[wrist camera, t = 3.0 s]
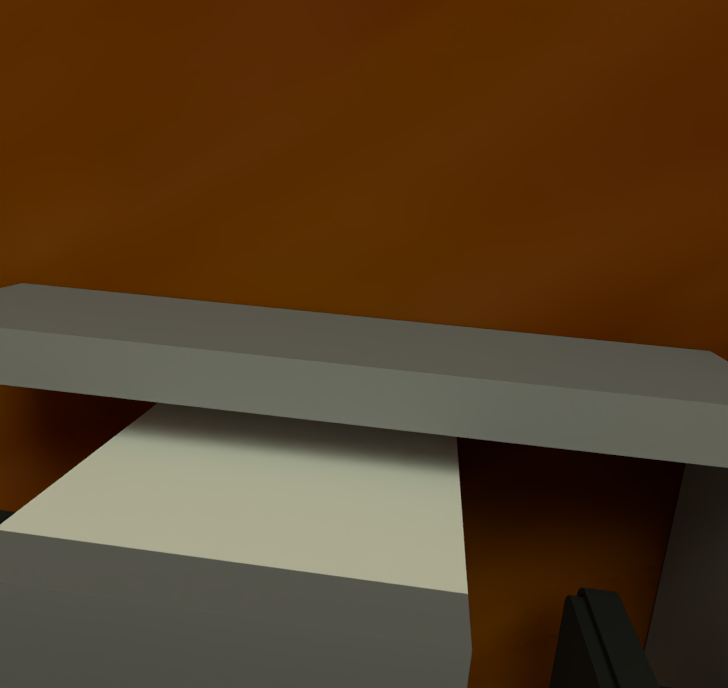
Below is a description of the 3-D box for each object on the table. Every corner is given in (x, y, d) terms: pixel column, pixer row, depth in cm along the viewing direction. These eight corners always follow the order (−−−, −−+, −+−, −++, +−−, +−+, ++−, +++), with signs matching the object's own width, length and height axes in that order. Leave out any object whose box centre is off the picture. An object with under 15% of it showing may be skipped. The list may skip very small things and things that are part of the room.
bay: (761, 356, 10) (887, 422, 7) (644, 839, 13) (705, 1027, 10) (22, 283, 11) (-118, 315, 9) (48, 738, 14) (-53, 883, 11)
